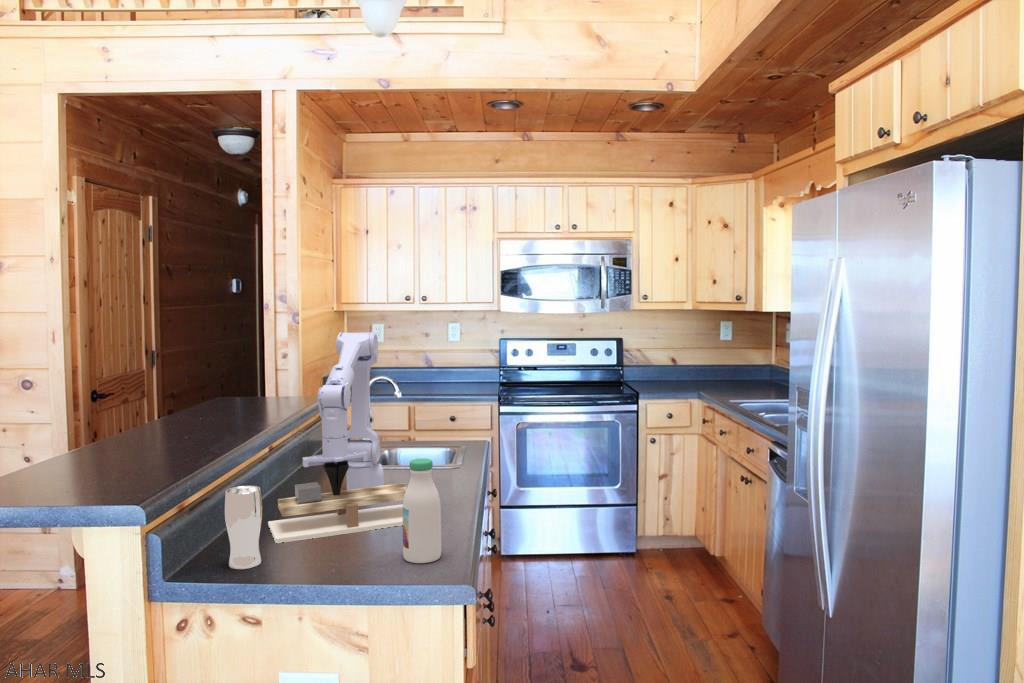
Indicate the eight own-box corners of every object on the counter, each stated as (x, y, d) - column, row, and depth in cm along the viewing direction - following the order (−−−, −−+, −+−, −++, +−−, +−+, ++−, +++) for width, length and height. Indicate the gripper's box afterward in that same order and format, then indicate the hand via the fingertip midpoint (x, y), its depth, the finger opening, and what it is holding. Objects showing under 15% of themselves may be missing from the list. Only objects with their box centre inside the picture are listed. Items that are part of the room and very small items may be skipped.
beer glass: (232, 558, 148) (230, 485, 147) (267, 557, 149) (265, 484, 148) (221, 571, 141) (219, 494, 140) (258, 569, 142) (256, 493, 141)
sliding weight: (317, 498, 170) (316, 482, 169) (321, 504, 165) (320, 486, 165) (295, 501, 168) (294, 484, 167) (298, 507, 163) (298, 489, 163)
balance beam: (403, 492, 180) (403, 482, 180) (414, 501, 172) (414, 490, 172) (278, 510, 168) (277, 498, 168) (283, 520, 160) (282, 508, 160)
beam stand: (409, 507, 184) (408, 483, 183) (426, 522, 171) (426, 497, 171) (268, 525, 170) (267, 500, 169) (275, 543, 157) (274, 516, 156)
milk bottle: (447, 553, 150) (446, 457, 149) (431, 566, 143) (430, 465, 142) (413, 549, 153) (412, 455, 152) (396, 561, 145) (394, 463, 144)
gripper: (305, 442, 161) (306, 502, 162) (370, 436, 167) (371, 494, 168) (300, 436, 168) (302, 494, 169) (363, 431, 174) (364, 487, 175)
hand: (336, 494), depth 169 cm, fingers closed
